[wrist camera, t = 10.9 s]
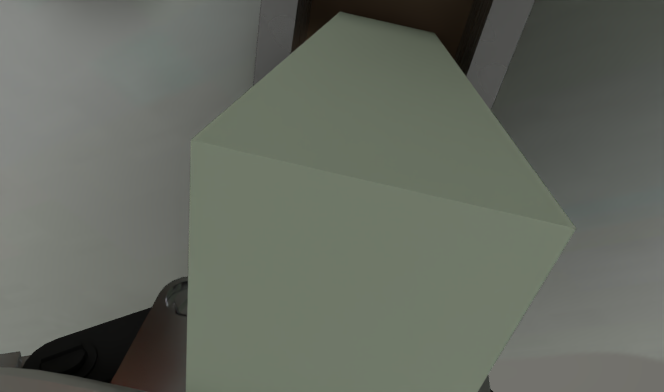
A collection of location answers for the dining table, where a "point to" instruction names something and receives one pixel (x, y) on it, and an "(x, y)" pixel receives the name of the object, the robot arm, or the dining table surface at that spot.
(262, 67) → the open rectangular box
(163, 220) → the dining table surface
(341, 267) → the pale green rectangular block
